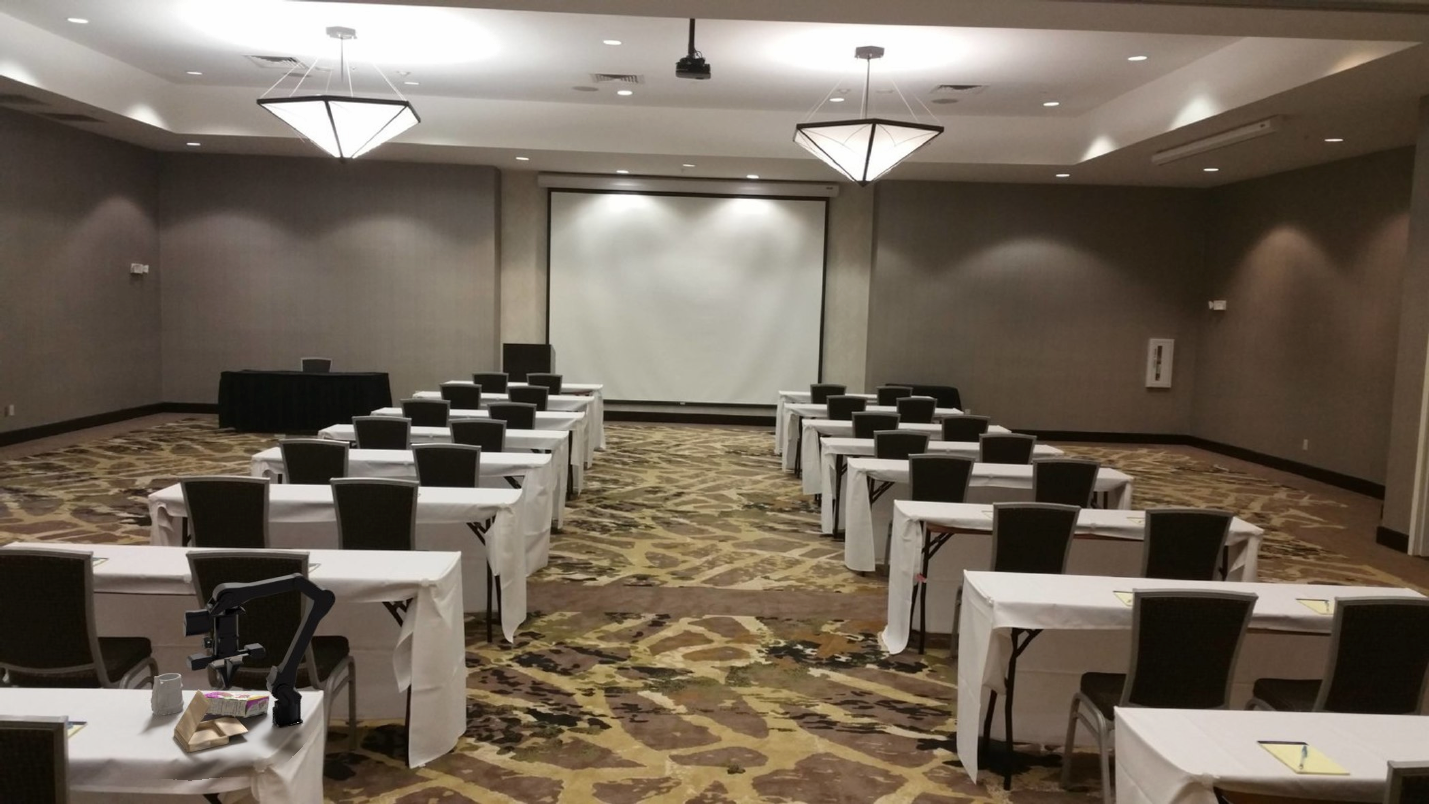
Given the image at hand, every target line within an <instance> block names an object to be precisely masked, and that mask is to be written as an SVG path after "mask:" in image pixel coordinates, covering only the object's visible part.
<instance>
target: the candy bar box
mask: <svg viewBox="0 0 1429 804" xmlns="http://www.w3.org/2000/svg"><path fill="white" fill-rule="evenodd" d="M203 694H204V695H205V696H206V697H207V698H208V699H209V700H210V702H211V703H212V704H211V706H210V707H209V709H208V711H207V712H206V714H205V715H212V716H213V715H214V716H224V717H229V716H233V717H235V718H244V719H245V718H250V717H254V716H259V715H263V714H267V713H268V711H269V702H270V695H263V694H262V695H261V694H250V693H238V692H227V691H214V692H213V691H212V692H209V693H203Z"/></svg>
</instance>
